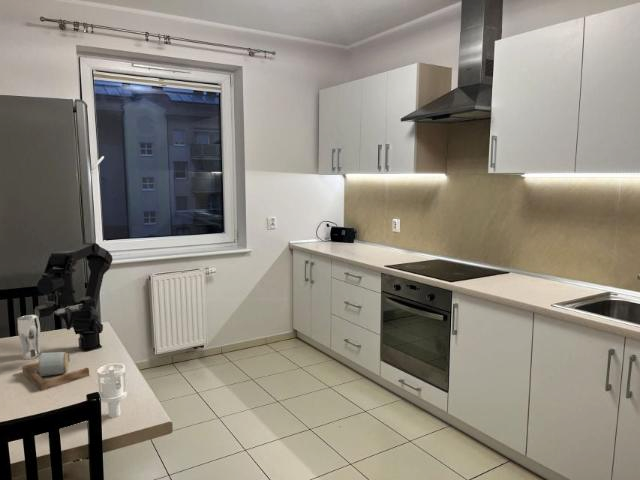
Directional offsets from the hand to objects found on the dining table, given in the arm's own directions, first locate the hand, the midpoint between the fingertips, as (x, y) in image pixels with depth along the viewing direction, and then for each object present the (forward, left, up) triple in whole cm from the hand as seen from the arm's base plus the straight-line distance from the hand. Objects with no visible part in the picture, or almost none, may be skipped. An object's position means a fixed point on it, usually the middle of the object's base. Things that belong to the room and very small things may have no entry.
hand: (68, 329), depth 168 cm
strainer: (+6, +49, -12) cm, 51 cm away
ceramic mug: (+7, +5, -12) cm, 15 cm away
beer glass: (+8, -16, -12) cm, 22 cm away
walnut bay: (+7, +8, -12) cm, 16 cm away
